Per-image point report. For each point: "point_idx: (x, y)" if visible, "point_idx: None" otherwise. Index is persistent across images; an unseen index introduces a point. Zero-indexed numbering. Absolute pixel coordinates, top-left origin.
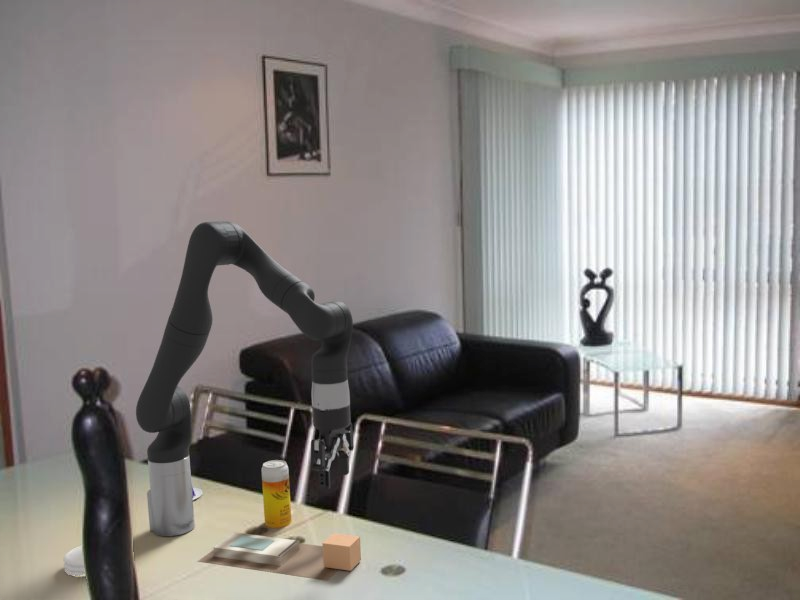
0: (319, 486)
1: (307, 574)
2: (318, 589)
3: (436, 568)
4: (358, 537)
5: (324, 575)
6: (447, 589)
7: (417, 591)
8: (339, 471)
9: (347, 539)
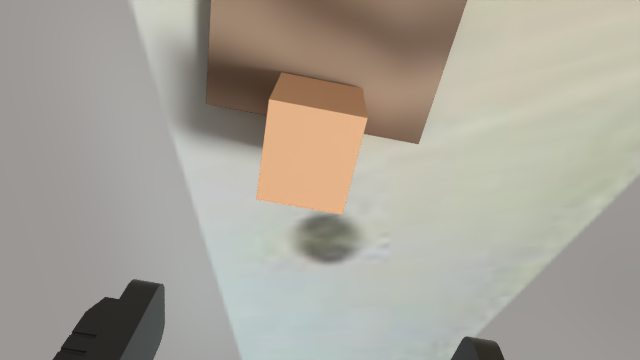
0: (128, 287)
1: (229, 27)
2: (179, 78)
3: (344, 316)
4: (334, 211)
5: (233, 87)
6: (252, 338)
7: (230, 295)
8: (469, 358)
9: (314, 180)
